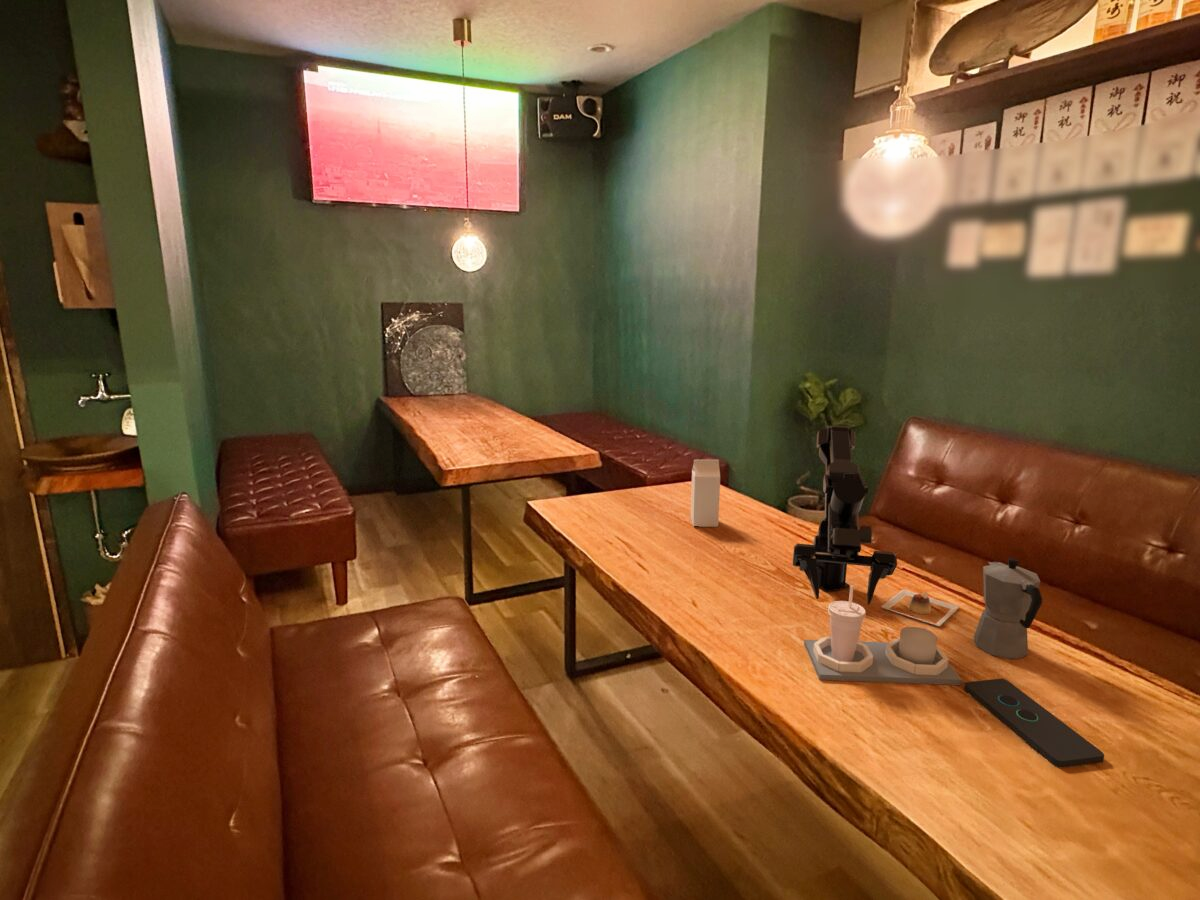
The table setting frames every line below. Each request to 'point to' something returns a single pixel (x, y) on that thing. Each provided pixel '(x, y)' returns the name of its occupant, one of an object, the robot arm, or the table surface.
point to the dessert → (920, 605)
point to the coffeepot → (1007, 609)
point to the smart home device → (1034, 723)
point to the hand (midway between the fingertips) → (843, 601)
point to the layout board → (887, 660)
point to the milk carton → (705, 493)
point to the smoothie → (845, 627)
